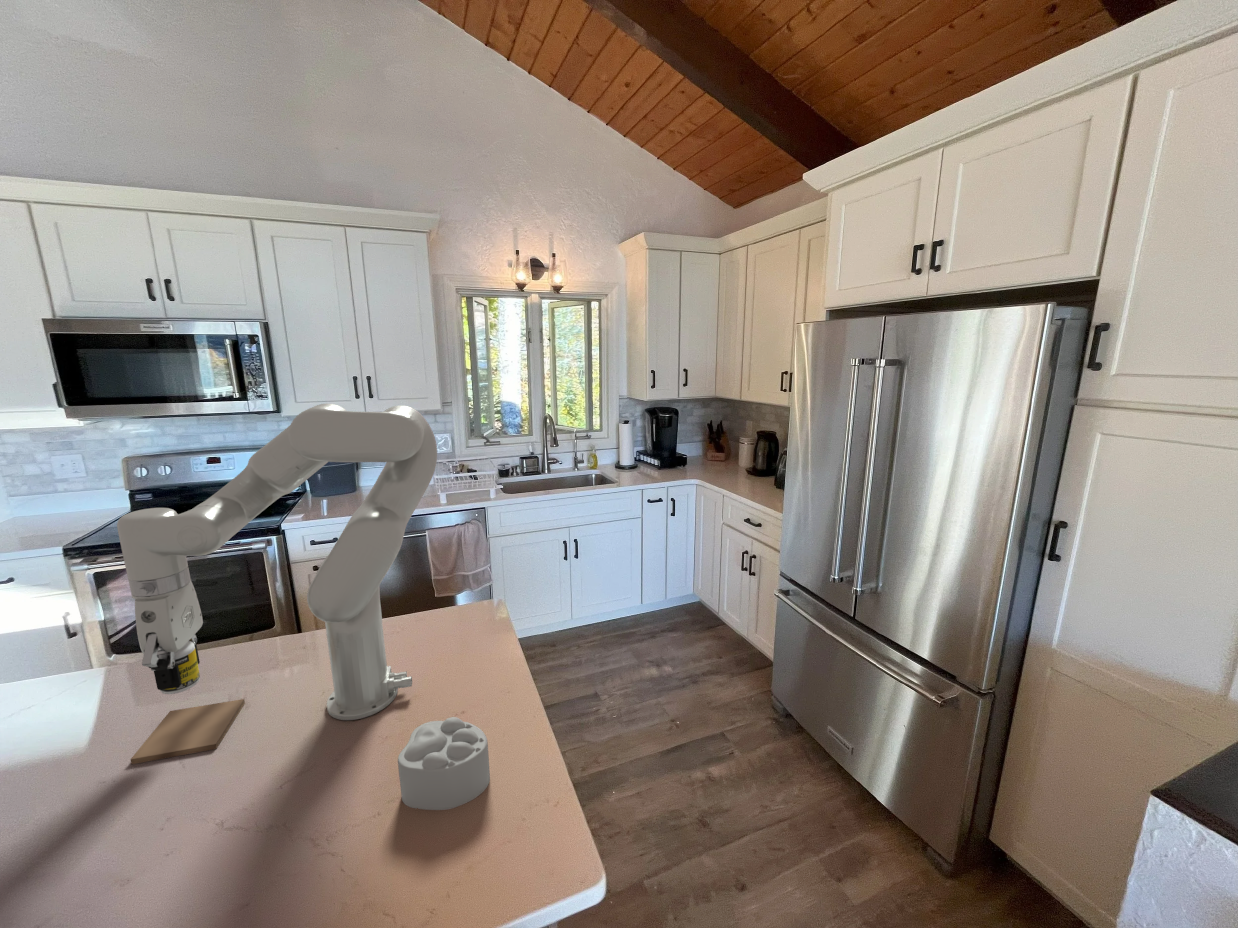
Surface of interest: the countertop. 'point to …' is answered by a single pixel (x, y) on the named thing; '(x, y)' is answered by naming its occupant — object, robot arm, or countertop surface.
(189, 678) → the supplement bottle
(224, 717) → the walnut board
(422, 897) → the countertop surface
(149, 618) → the robot arm
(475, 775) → the lumpy-topped squat cylinder
